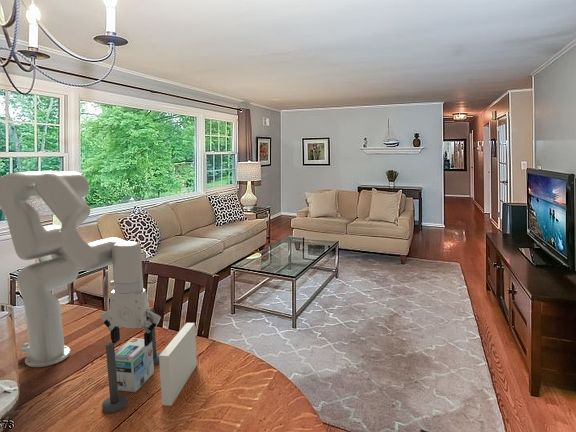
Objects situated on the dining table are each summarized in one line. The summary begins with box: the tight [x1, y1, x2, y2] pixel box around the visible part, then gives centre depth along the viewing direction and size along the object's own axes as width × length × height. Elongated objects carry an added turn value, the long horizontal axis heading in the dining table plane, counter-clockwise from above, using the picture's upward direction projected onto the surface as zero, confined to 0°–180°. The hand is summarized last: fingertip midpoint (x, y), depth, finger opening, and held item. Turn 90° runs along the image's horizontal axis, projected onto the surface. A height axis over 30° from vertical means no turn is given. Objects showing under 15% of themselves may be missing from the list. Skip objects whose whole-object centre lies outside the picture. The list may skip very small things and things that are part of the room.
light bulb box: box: [115, 337, 155, 393], centre depth 114 cm, size 11×7×11 cm, turn 170°
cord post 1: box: [101, 342, 128, 414], centre depth 103 cm, size 6×6×17 cm
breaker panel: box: [159, 322, 198, 407], centre depth 113 cm, size 4×20×14 cm, turn 174°
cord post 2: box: [149, 307, 162, 366], centre depth 125 cm, size 6×6×17 cm
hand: (132, 342), depth 114 cm, fingers open, 9 cm apart
